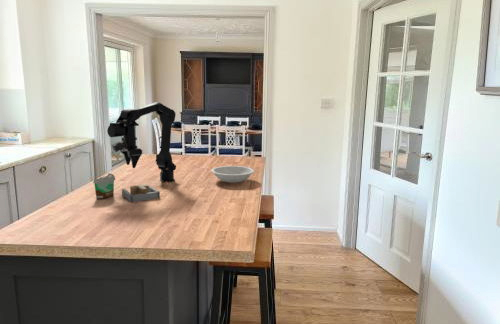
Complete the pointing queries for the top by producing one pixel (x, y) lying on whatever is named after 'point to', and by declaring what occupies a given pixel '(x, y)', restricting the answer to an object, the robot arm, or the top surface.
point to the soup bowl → (232, 173)
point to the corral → (141, 195)
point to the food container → (104, 187)
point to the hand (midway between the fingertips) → (130, 166)
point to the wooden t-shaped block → (139, 189)
